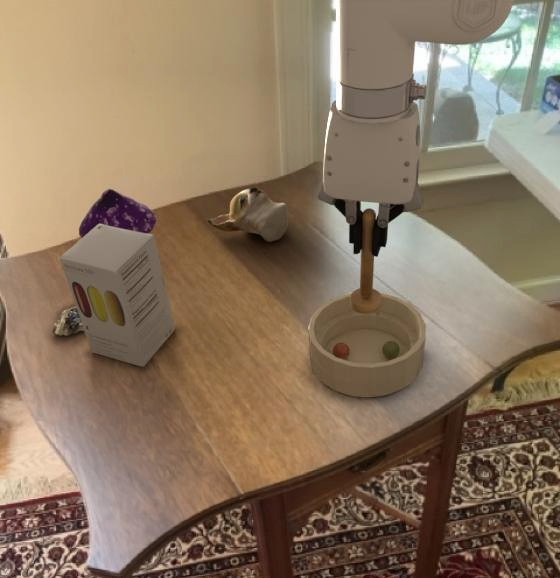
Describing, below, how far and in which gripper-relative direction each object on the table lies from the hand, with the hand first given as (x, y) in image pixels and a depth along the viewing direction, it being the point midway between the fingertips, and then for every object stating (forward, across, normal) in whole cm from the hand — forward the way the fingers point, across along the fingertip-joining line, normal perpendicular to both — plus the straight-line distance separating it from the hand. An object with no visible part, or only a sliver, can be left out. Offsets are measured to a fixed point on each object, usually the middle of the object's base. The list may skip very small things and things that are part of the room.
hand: (367, 248), depth 79 cm
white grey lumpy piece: (+19, +46, +1) cm, 49 cm away
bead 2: (+17, -4, -1) cm, 17 cm away
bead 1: (+17, +3, +1) cm, 17 cm away
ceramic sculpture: (+19, +26, -29) cm, 43 cm away
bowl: (+18, 0, 0) cm, 18 cm away
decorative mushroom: (+19, +43, -13) cm, 49 cm away
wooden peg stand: (+9, 0, 0) cm, 9 cm away
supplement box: (+19, +34, +3) cm, 39 cm away
